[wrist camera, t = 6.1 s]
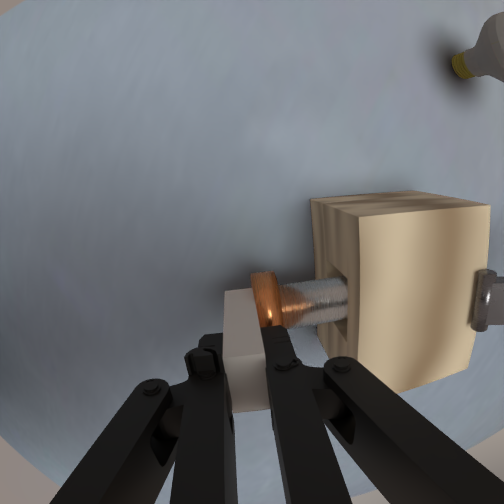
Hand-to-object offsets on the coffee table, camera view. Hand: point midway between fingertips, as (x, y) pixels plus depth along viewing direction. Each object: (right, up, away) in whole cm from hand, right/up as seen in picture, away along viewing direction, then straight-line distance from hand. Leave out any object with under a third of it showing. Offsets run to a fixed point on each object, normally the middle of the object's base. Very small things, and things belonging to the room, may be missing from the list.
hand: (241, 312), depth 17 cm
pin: (+7, +2, +2) cm, 8 cm away
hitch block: (+9, +2, +4) cm, 10 cm away
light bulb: (+17, +18, +1) cm, 25 cm away
